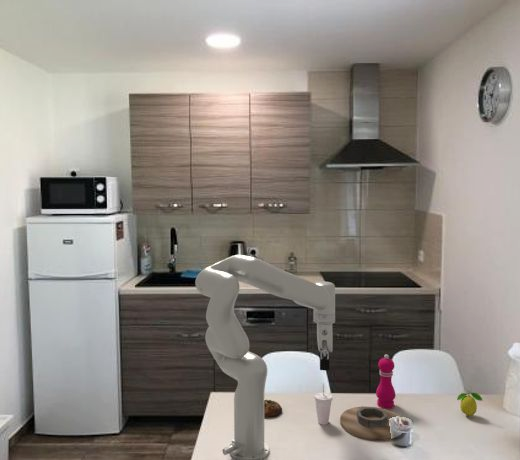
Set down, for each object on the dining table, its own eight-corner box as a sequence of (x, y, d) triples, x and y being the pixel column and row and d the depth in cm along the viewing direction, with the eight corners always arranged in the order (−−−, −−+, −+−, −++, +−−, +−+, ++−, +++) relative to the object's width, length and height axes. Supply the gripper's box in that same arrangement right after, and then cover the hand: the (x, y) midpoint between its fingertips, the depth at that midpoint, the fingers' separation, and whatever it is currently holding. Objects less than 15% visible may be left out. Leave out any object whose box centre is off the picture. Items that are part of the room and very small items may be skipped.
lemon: (482, 418, 175) (483, 391, 174) (469, 421, 173) (470, 394, 172) (467, 410, 181) (468, 384, 181) (455, 413, 179) (456, 387, 178)
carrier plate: (381, 447, 155) (382, 435, 155) (327, 424, 171) (327, 413, 171) (416, 424, 171) (416, 413, 170) (363, 405, 186) (363, 395, 186)
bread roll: (280, 419, 175) (279, 405, 175) (251, 421, 177) (249, 407, 177) (284, 406, 186) (282, 394, 186) (256, 408, 188) (254, 396, 188)
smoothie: (331, 418, 176) (332, 380, 174) (332, 427, 169) (333, 388, 168) (314, 417, 176) (314, 380, 175) (314, 426, 170) (314, 387, 169)
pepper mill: (375, 408, 184) (376, 356, 182) (376, 400, 191) (377, 350, 189) (395, 410, 182) (396, 358, 180) (395, 402, 189) (396, 352, 187)
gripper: (336, 324, 161) (336, 374, 162) (334, 311, 178) (333, 356, 179) (313, 324, 162) (313, 373, 163) (313, 310, 179) (313, 356, 180)
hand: (324, 364), depth 171 cm, fingers open, 9 cm apart
